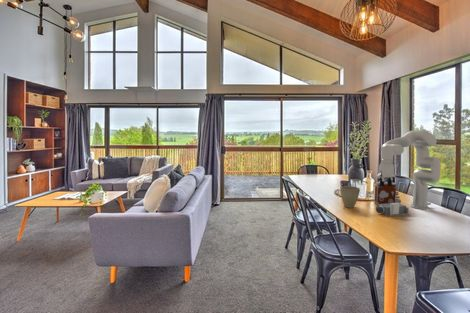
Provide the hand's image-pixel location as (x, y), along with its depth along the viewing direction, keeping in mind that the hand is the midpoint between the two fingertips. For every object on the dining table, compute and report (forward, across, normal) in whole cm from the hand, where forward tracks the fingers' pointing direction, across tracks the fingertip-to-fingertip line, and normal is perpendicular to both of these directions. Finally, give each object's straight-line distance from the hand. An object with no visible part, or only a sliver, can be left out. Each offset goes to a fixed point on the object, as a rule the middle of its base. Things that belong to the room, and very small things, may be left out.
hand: (385, 186), depth 183 cm
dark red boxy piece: (+23, -25, -22) cm, 40 cm away
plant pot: (+23, +8, -28) cm, 37 cm away
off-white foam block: (+22, -9, 0) cm, 23 cm away
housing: (+23, -11, -5) cm, 25 cm away
